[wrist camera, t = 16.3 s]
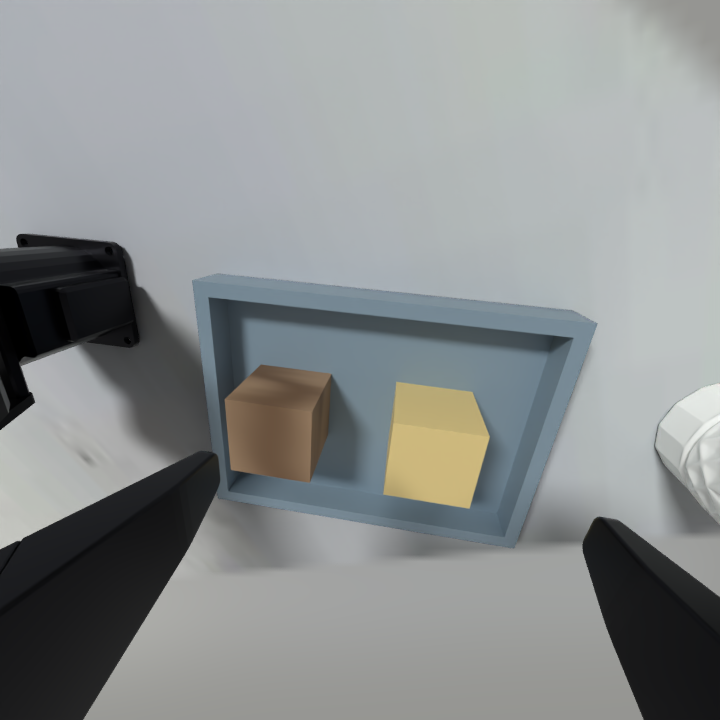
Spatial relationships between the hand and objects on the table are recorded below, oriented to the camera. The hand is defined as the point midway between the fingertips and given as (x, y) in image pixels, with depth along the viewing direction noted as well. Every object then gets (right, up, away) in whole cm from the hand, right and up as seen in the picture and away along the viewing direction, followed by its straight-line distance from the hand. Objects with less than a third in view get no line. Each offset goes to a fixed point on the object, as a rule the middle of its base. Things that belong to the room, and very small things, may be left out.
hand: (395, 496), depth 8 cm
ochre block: (+3, 0, +13) cm, 13 cm away
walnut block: (-5, +1, +13) cm, 14 cm away
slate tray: (0, 0, +14) cm, 14 cm away
